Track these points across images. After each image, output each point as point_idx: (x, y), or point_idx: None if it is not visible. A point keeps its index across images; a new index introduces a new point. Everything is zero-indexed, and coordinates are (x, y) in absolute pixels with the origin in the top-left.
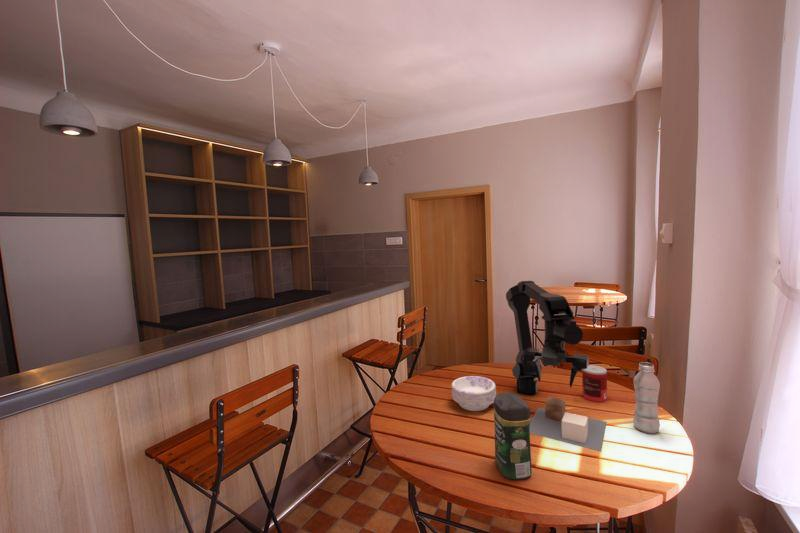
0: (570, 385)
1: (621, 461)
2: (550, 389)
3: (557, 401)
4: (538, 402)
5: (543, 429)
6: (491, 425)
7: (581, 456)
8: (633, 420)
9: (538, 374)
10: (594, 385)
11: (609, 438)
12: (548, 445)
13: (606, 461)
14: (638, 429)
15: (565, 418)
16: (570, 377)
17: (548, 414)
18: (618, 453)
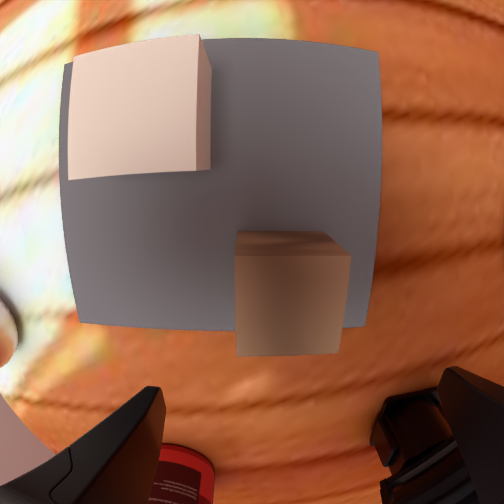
0: (148, 394)
1: (23, 70)
2: (324, 469)
3: (276, 314)
4: (365, 375)
5: (308, 102)
6: (484, 86)
7: (129, 7)
8: (3, 328)
9: (500, 397)
10: (153, 496)
11: (51, 201)
12: (257, 7)
13: (58, 36)
14: (2, 302)
15: (179, 74)
16: (109, 460)
17: (312, 236)
18: (26, 110)
